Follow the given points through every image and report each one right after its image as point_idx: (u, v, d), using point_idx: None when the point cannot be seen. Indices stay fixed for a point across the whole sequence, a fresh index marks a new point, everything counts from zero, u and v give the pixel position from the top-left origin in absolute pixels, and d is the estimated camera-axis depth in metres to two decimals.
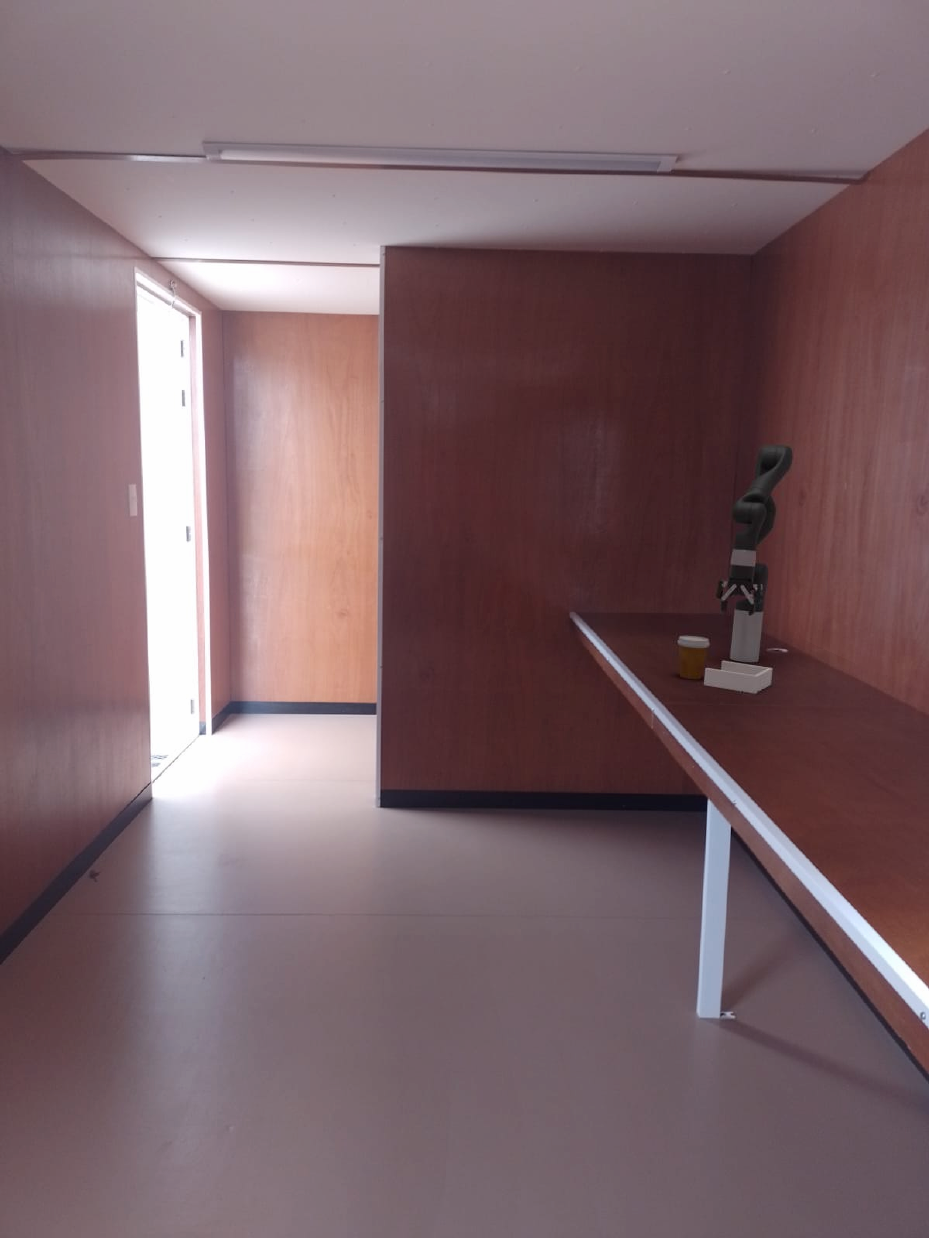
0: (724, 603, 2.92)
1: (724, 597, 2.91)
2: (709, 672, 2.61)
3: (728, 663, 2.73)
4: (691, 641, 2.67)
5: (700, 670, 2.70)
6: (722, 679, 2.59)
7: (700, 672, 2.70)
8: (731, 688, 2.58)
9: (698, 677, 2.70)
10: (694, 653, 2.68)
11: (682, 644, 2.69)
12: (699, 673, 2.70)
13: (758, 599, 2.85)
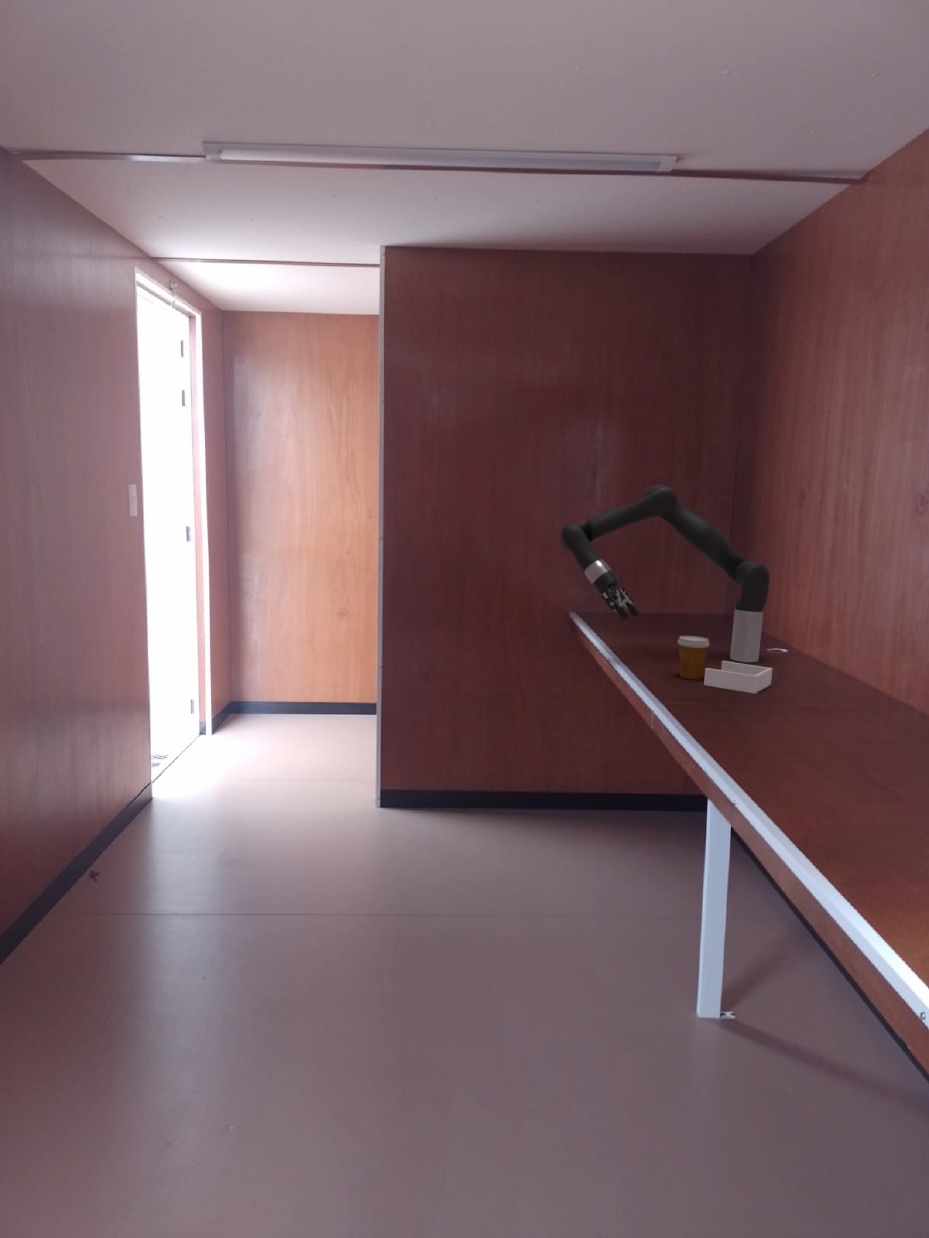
0: (629, 610, 2.86)
1: None
2: (709, 672, 2.61)
3: (728, 663, 2.73)
4: (691, 641, 2.67)
5: (700, 670, 2.70)
6: (722, 679, 2.59)
7: (700, 672, 2.70)
8: (731, 688, 2.58)
9: (698, 677, 2.70)
10: (694, 653, 2.68)
11: (682, 644, 2.69)
12: (699, 673, 2.70)
13: None
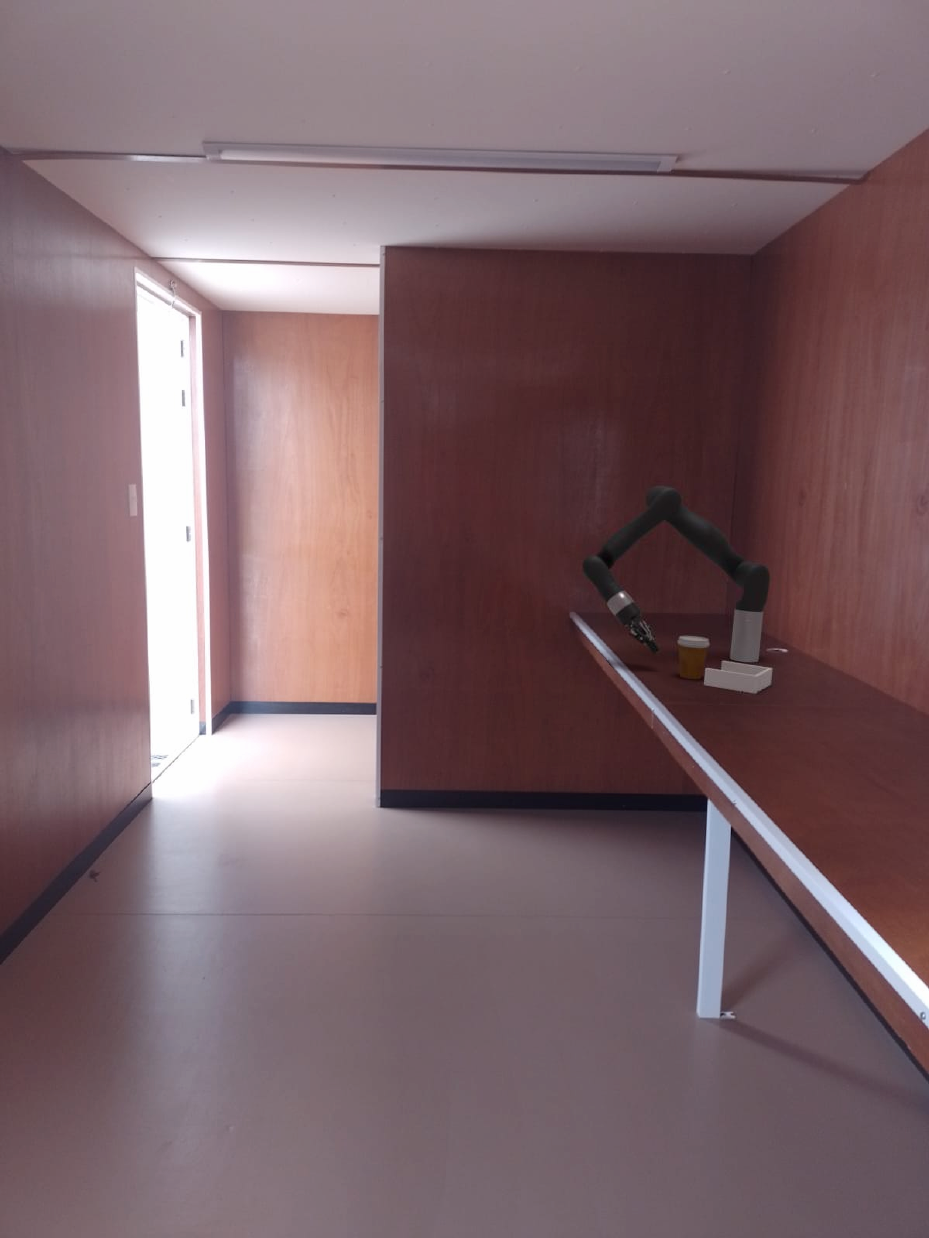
0: None
1: None
2: (709, 672, 2.61)
3: (728, 663, 2.73)
4: (691, 641, 2.67)
5: (700, 670, 2.70)
6: (722, 679, 2.59)
7: (700, 672, 2.70)
8: (731, 688, 2.58)
9: (698, 677, 2.70)
10: (694, 653, 2.68)
11: (682, 644, 2.69)
12: (699, 673, 2.70)
13: None
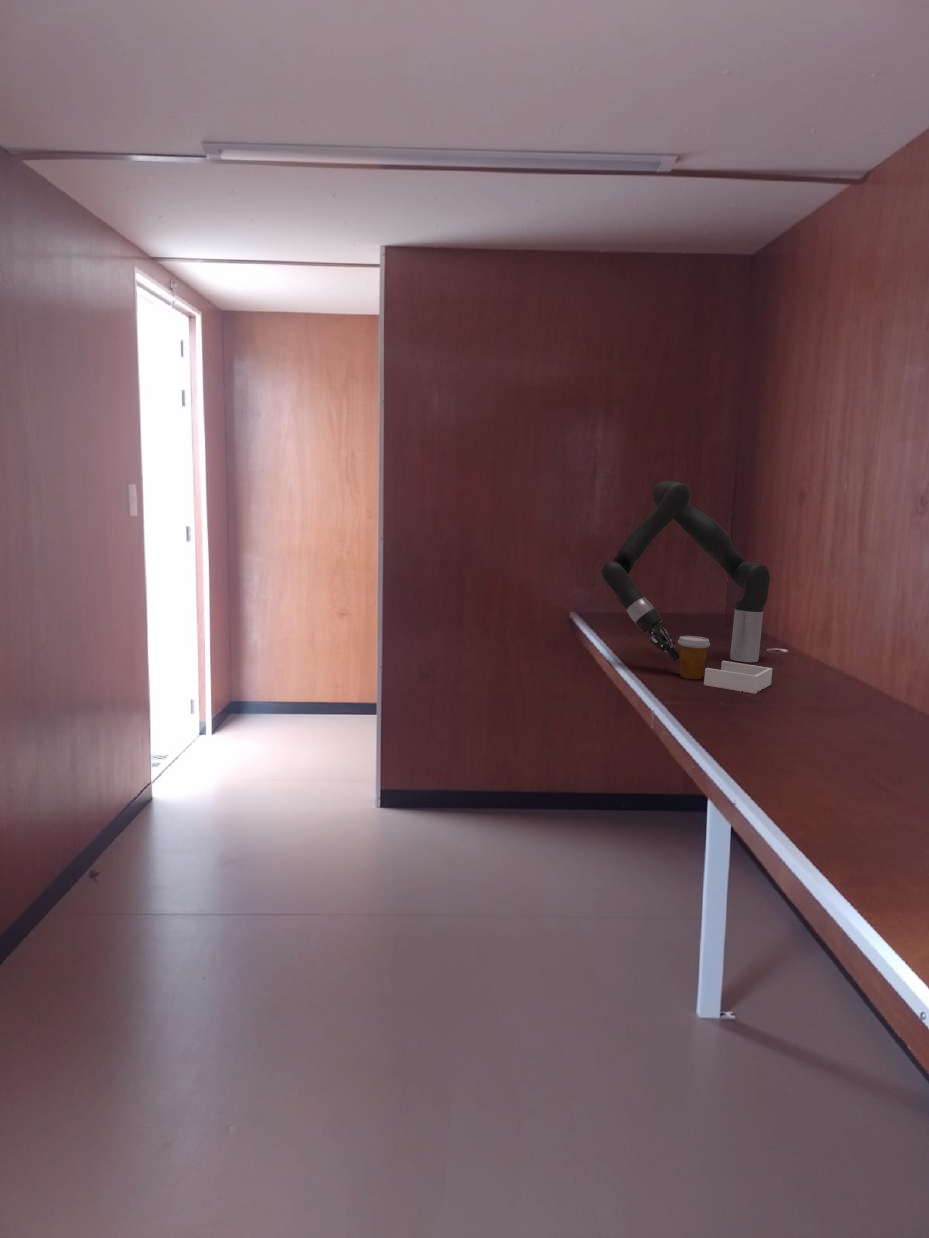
0: None
1: None
2: (709, 672, 2.61)
3: (728, 663, 2.73)
4: (691, 641, 2.67)
5: (700, 670, 2.70)
6: (722, 679, 2.59)
7: (700, 672, 2.70)
8: (731, 688, 2.58)
9: (698, 677, 2.70)
10: (694, 653, 2.67)
11: (682, 644, 2.69)
12: (699, 673, 2.70)
13: None
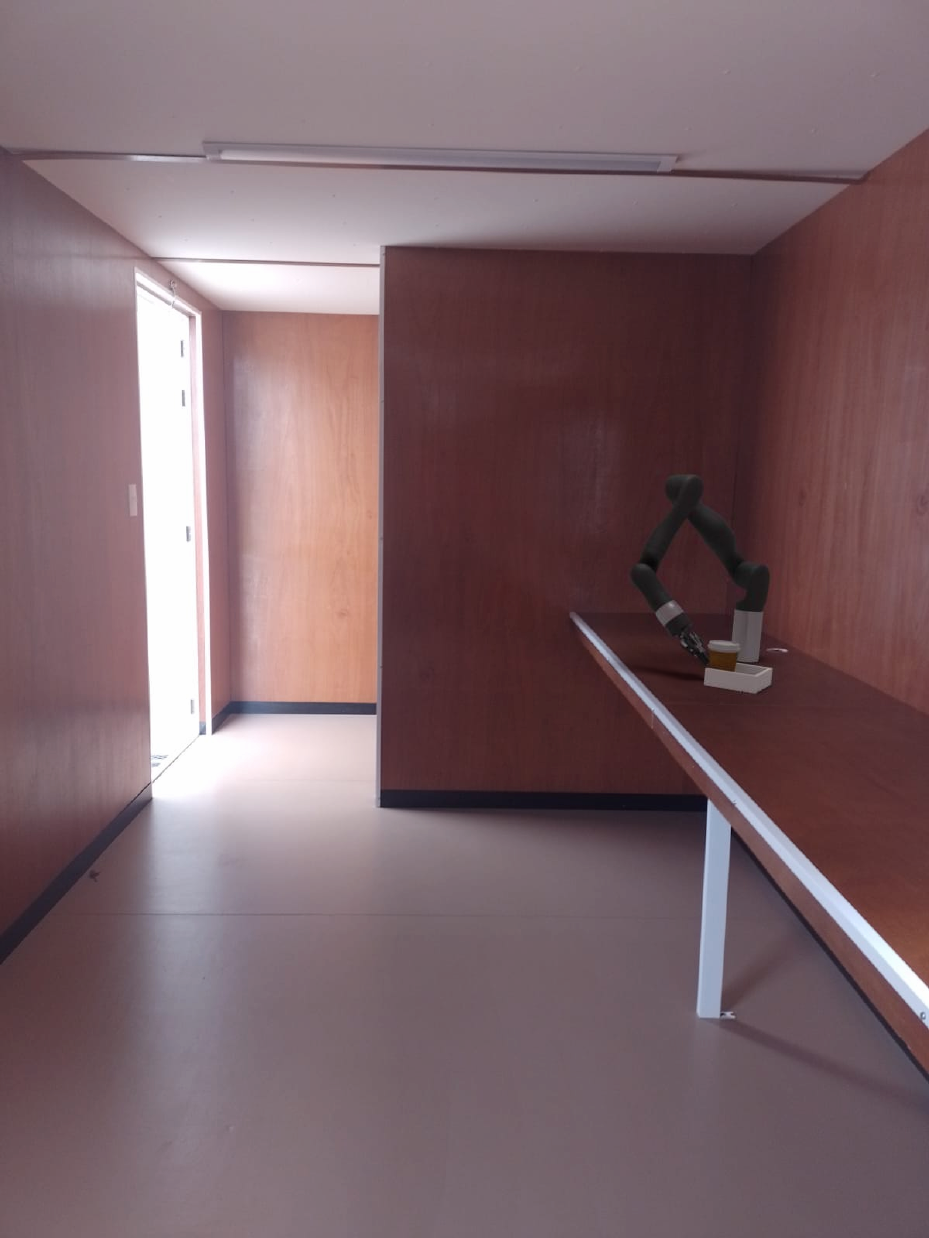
0: None
1: None
2: (709, 672, 2.61)
3: None
4: (722, 646, 2.62)
5: None
6: (722, 679, 2.59)
7: None
8: (731, 688, 2.58)
9: None
10: (725, 658, 2.62)
11: (713, 648, 2.63)
12: None
13: None
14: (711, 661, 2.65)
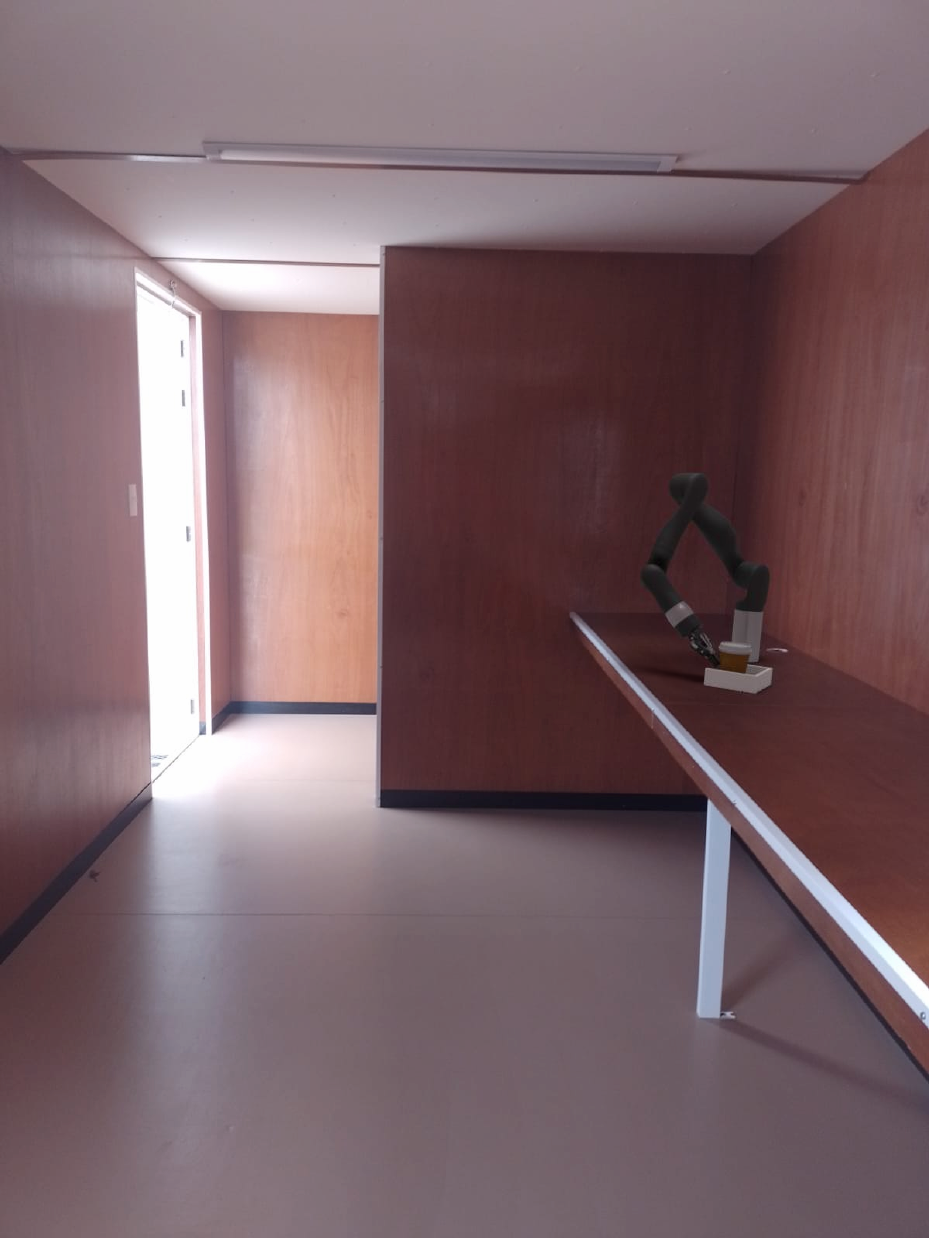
0: None
1: None
2: (709, 672, 2.61)
3: None
4: (734, 647, 2.60)
5: None
6: (722, 679, 2.59)
7: None
8: (731, 688, 2.58)
9: None
10: (736, 659, 2.60)
11: (724, 650, 2.61)
12: None
13: None
14: (722, 663, 2.63)
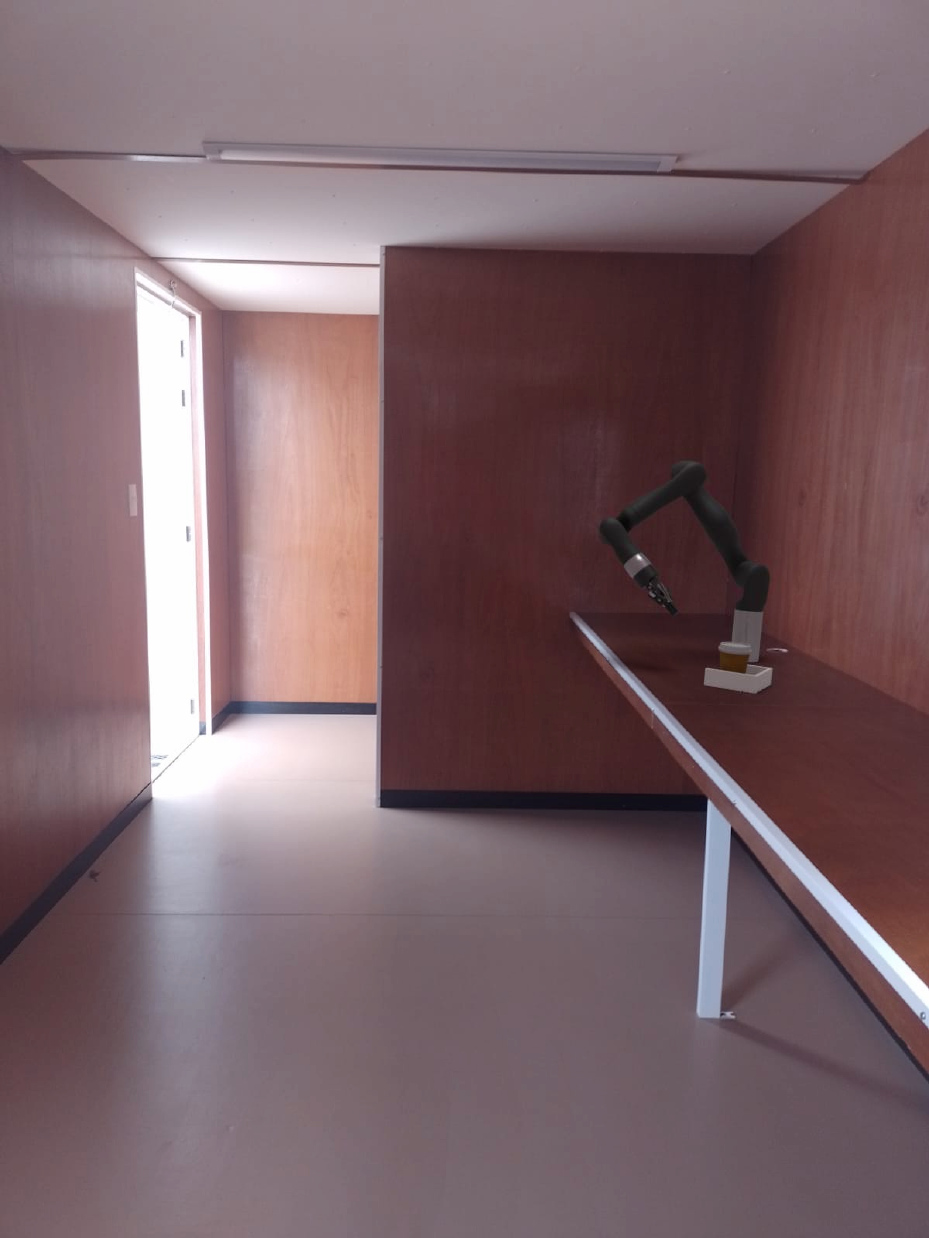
0: None
1: None
2: (709, 672, 2.61)
3: None
4: (733, 647, 2.60)
5: None
6: (722, 679, 2.59)
7: None
8: (731, 688, 2.58)
9: None
10: (736, 659, 2.60)
11: (724, 650, 2.61)
12: None
13: None
14: (722, 663, 2.63)
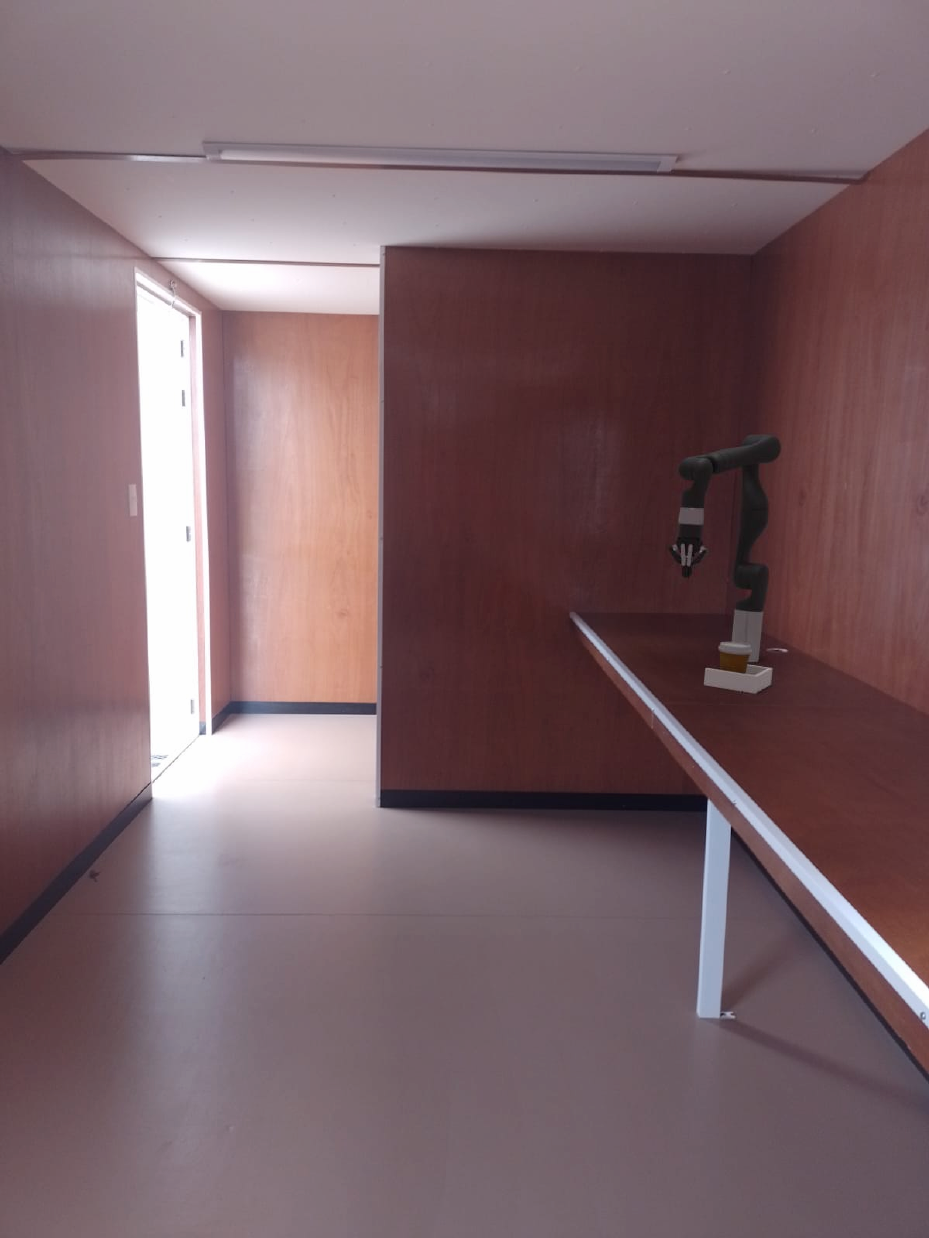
0: (684, 568, 2.81)
1: (684, 562, 2.80)
2: (709, 672, 2.61)
3: None
4: (733, 647, 2.60)
5: None
6: (722, 679, 2.59)
7: None
8: (731, 688, 2.58)
9: None
10: (736, 659, 2.60)
11: (724, 650, 2.61)
12: None
13: (695, 562, 2.78)
14: (722, 663, 2.63)
